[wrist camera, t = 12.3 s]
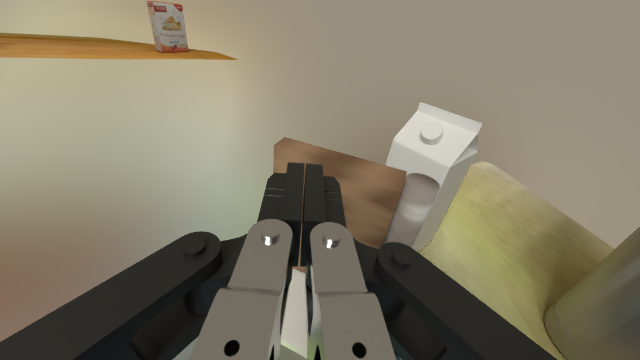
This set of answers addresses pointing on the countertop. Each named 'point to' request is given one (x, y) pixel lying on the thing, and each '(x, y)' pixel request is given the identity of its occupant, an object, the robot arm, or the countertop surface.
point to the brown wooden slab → (367, 193)
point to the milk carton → (436, 157)
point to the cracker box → (168, 26)
